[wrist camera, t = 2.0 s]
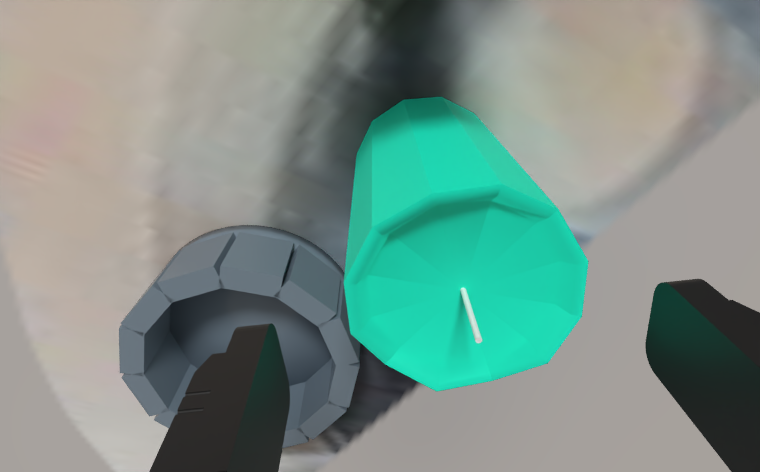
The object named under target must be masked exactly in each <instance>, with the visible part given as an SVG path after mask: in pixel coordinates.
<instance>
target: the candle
mask: <svg viewBox="0 0 760 472" xmlns="http://www.w3.org/2000/svg"><path fill="white" fill-rule="evenodd" d="M587 269H588V260H587V258H586V256H585V255H584V253H583V251H582V249H581V248H580V246H579V244H578V242H577V241H576V239H575V237H574V235H573V234H572V232H571V230H570V229H569V227H568V225H567V223H566V222H565V220H564V218H563V216H562V215H561V213H560V211H559V209H558V208H557V207H556V206H555V205H554V204H553V203H552V201H551V200H550V199H549V198H548V197H547V196H546V195H545V193H544V192H543V191H542V190H541V189H540V188H539V187H538V185H537V184H536V183H535V182H534V181H533V180H532V179H531V177H530V176H529V175H528V174H527V173H526V172H525V171H524V170H523V168H522V167H521V166H520V165H519V164H518V163H517V162H516V160H515V159H514V158H513V157H512V156H511V155H510V154H509V152H508V151H507V150H506V149H505V148H504V147H503V146H502V145H501V143H500V142H499V141H498V140H497V139H496V138H495V137H494V135H493V134H492V133H491V132H490V131H489V130H488V129H487V127H486V126H485V125H484V124H483V123H482V122H481V121H480V119H479V118H478V117H477V116H476V115H475V114H474V113H473V112H471V111H469V110H467V109H465V108H463V107H461V106H459V105H457V104H455V103H453V102H451V101H449V100H447V99H445V98H443V97H430V98H417V99H404V100H402V101H401V102H399V103H398V104H396V105H395V106H393V107H392V108H390V109H389V110H387V111H386V112H385V113H383V114H382V115H380V116H379V117H377V118H376V119H374V120H373V121H372V122H371V125H370V127H369V129H368V131H367V133H366V135H365V137H364V139H363V141H362V144H361V146H360V148H359V150H358V152H357V156H356V166H355V176H354V185H353V195H352V205H351V215H350V225H349V235H348V245H347V254H346V264H345V274H344V289H345V297H346V304H347V312H348V319H349V327H350V334H351V335H352V336H354V337H355V338H356V339H357V340H358V341H359V342H360V343H361V344H363V345H364V346H365V347H366V348H367V349H368V350H369V351H370V352H372V353H373V354H374V355H375V356H376V357H377V358H378V359H380V360H381V361H382V362H383V363H384V364H385V365H387V366H389V367H391V368H393V369H395V370H397V371H399V372H401V373H403V374H404V375H406V376H408V377H410V378H412V379H414V380H416V381H418V382H420V383H422V384H423V385H425V386H427V387H429V388H431V389H433V390H435V391H442V390H447V389H452V388H457V387H463V386H468V385H473V384H478V383H484V382H488V381H493V380H496V379H500V378H503V377H506V376H509V375H512V374H516V373H518V372H522V371H525V370H528V369H531V368H534V367H538V366H541V365H544V364H547V363H548V362H549V361H550V359H551V358H552V357H553V355H554V354H555V353H556V351H557V350H558V349H559V347H560V346H561V344H562V343H563V342H564V340H565V339H566V337H567V336H568V335H569V333H570V332H571V331H572V329H573V328H574V326H575V325H576V324H577V322H578V321H579V319H580V318H581V317H582V311H583V302H584V294H585V286H586V277H587Z"/></svg>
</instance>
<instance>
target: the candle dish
mask: <svg viewBox="0 0 760 472" xmlns="http://www.w3.org/2000/svg"><path fill="white" fill-rule="evenodd" d="M344 274H345V273H344V272H343V270H342V269H341V268H340V266H339V265H338V264H337V263H336V262H335V261H334V260H333V259H332V258H331V257H330V256H329V255H328V254H327V253H325V252H324V251H323V250H322V249H320V248H319V247H317V246H316V245H314V244H313V243H311V242H310V241H308V240H306V239H304V238H302V237H300V236H298V235H295V234H292V233H290V232H287V231H284V230H280V229H276V228H272V227H265V226H257V225H240V226H231V227H225V228H221V229H217V230H214V231H211V232H208V233H206V234H203V235H201V236H199V237H197V238H195V239H194V240H192V241H190V242H189V243H188V244H186V245H185V246H184V247H182V248H181V249H180V250H179V251H178V252H177V253H176V254H175V255H174V256H173V257H172V259H171V260H170V261H169V263H168V264H167V265H166V267H165V268H164V269H163V270H162V271H161V273H160V274H159V275H158V276H157V278H156V279H155V280H154V281H153V282H152V284H151V285H150V286H149V287H148V289H147V290H146V291H145V293H144V294H143V295H142V296H141V298H140V299H139V300H138V302H137V303H136V304H135V306H134V307H133V308H132V309H131V311H130V312H129V313H128V315H127V316H126V317H125V319H124V320H123V321H122V322H121V324H122V325H121V326H120V328H119V354H120V373H124V375H123V376H122V379H123V380H124V382H125V383H126V384H127V386H128V387H129V389H130V390H131V391H132V393H133V394H134V396H135V397H136V398H137V400H138V401H139V402H140V404H141V405H142V407H143V408H144V409H145V411H146V412H147V414H148V415H149V416H153V415H156V417H155V419H154V420H155V421H157V422H158V423H160V424H162V425H164V426H166V427H168V428H169V427H170V425H171V423H172V421H173V419H174V416H175V415H177V413H178V411H177V410H178V408H179V405H180V403H181V401H182V399H183V397H185V392H186V390H187V388H188V385H189V383H190V381H191V379H192V377H193V374H194V372H195V371H196V370H197V369H198V368H199V367H200V366H201V365H202V364H203V363H204V362H205V361H206V360H207V359H208V358H209V357H210V356H211V355H212V354H217V353H226V350H227V348H228V345H229V343H230V340H231V337H232V335H233V332H234V330H235V329H236V328H237V327H242V326H252V325H261V324H270V323H272V324H273V325H274V326H275V328H276V331H277V335H278V339H279V343H280V347H281V351H282V355H283V359H284V363H285V367H286V372H287V376H288V380H289V387H290V407H289V414H288V419H287V425H286V430H285V436H284V442H283V447H282V448H285V447H289V446H294V445H298V444H302V443H306V442H308V440H309V438H311V439H314V438H316V437H317V436H318V435H319V434H320V433H321V432H323V431H324V430H325V429H326V428H327V427H329V426H330V425H331V424H332V423H333V422H334V421H336V420H337V419H338V418H339V417H340V416H342V415H343V414H344V413H345V412H346V409H347V407H349V405H350V401H351V398H352V394H353V390H354V386H355V382H356V378H357V375H358V371H359V366H360V342H359V341H358V340H357V339H356V338H355V337H354V336H352V335H351V334H350V327H349V319H348V312H347V304H346V297H345V289H344Z"/></svg>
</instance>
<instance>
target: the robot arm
mask: <svg viewBox="0 0 760 472" xmlns="http://www.w3.org/2000/svg"><path fill="white" fill-rule="evenodd" d="M646 354H647V358H648V361H649V364H650V366H651V368H652V370H653V372H654V373H655V374H656V376H657V377H658V378H659V380H660V381H661V382H662V383H663V385H664V386H665V387H666V389H667V390H668V391H669V392H670V394H671V395H672V396H673V398H674V399H675V400H676V401H677V403H678V404H679V405H680V407H681V408H682V409H683V410H684V412H685V413H686V414H687V415H688V417H689V418H690V419H691V421H692V422H693V423H694V424H695V426H696V427H697V428H698V429H699V431H700V432H701V433H702V434H703V436H704V437H705V438H706V440H707V441H708V442H709V443H710V445H711V446H712V447H713V449H714V450H715V451H716V452H717V454H718V455H719V456H720V458H721V459H722V460H723V461H724V463H725V464H726V465H727V466H728V468H729V469H730V470H731V471H732V472H760V313H759V312H757V311H755V310H752V309H750V308H748V307H746V306H744V305H742V304H740V303H738V302H735V301H733V300H728V299H727V298H725V297H724V296H723V295H721V294H720V293H719V292H718V291H717V290H715V289H714V288H713V287H712V286H711V285H709V284H708V283H707V282H705V281H704V280H702V279H692V280H682V281H674V282H664V283H660V284H658V286H657V287H656V289H655V291H654V296H653V302H652V308H651V314H650V320H649V325H648V331H647V337H646ZM289 407H290V387H289V380H288V376H287V372H286V367H285V363H284V359H283V355H282V351H281V347H280V343H279V339H278V335H277V331H276V328H275V326H274V325H273V324H272V323H270V324H261V325H252V326H242V327H237V328H236V329H235V330H234V332H233V335H232V337H231V340H230V343H229V345H228V348H227V350H226V353H217V354H212V355H211V356H210V357H209V358H208V359H207V360H206V361H205V362H204V363H203V364H202V365H201V366H200V367H199V368H198V369H197V370H196V371H195V372H194V374H193V377H192V379H191V381H190V383H189V385H188V388H187V390H186V392H185V397H183V399H182V401H181V403H180V405H179V408H178V410H177V411H178V413H177V415H175V416H174V419H173V421H172V423H171V425H170V427H169V430H168V432H167V434H166V436H165V438H164V441H163V443H162V445H161V447H160V449H159V452H158V454H157V456H156V458H155V461H154V463H153V465H152V467H151V469H150V472H278V469H279V464H280V458H281V453H282V447H283V442H284V436H285V430H286V425H287V419H288V414H289Z"/></svg>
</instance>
